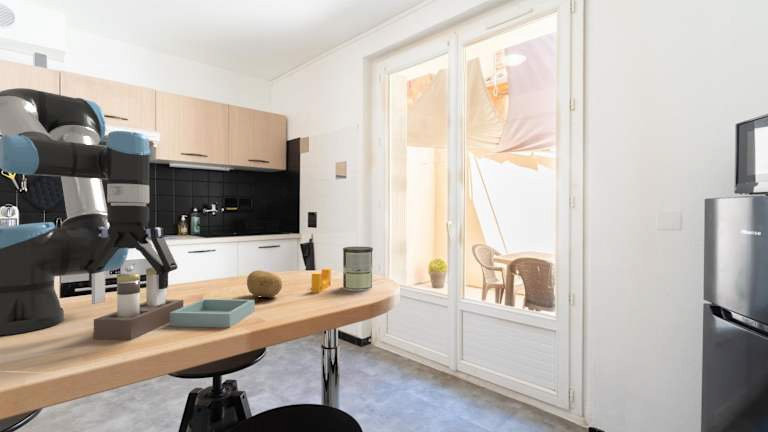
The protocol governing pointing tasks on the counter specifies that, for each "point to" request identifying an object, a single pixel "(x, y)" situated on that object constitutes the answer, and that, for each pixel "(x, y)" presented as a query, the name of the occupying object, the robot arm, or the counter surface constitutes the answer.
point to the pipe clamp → (321, 280)
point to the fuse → (151, 288)
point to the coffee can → (357, 268)
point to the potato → (263, 284)
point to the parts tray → (212, 313)
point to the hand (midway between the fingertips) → (128, 303)
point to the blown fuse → (128, 295)
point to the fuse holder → (134, 322)
